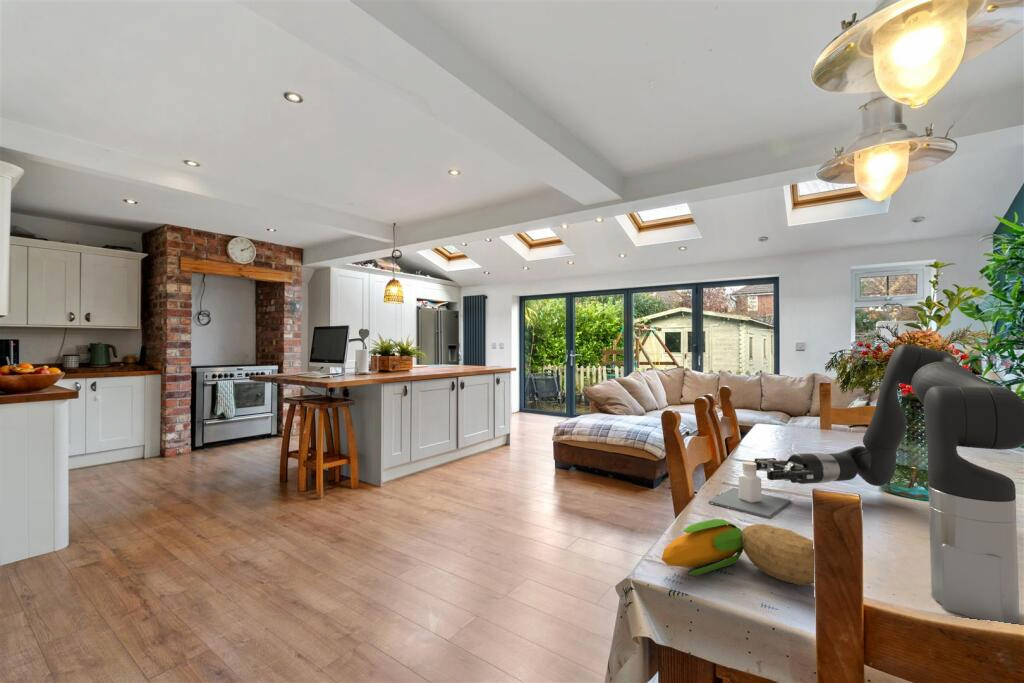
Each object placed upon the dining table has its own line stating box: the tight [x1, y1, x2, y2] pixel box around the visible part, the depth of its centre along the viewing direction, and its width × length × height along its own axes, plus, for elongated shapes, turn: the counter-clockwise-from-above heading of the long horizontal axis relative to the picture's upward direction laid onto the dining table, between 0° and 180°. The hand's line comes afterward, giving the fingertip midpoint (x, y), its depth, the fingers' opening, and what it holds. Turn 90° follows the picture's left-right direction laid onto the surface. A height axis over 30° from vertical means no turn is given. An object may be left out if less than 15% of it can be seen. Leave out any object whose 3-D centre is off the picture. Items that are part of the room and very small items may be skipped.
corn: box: [661, 518, 744, 576], centre depth 79 cm, size 7×8×20 cm
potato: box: [741, 523, 815, 586], centre depth 75 cm, size 10×14×8 cm
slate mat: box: [708, 487, 792, 519], centre depth 112 cm, size 16×14×1 cm
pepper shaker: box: [737, 461, 762, 503], centre depth 112 cm, size 4×4×10 cm
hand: (756, 470), depth 113 cm, fingers open, 8 cm apart
